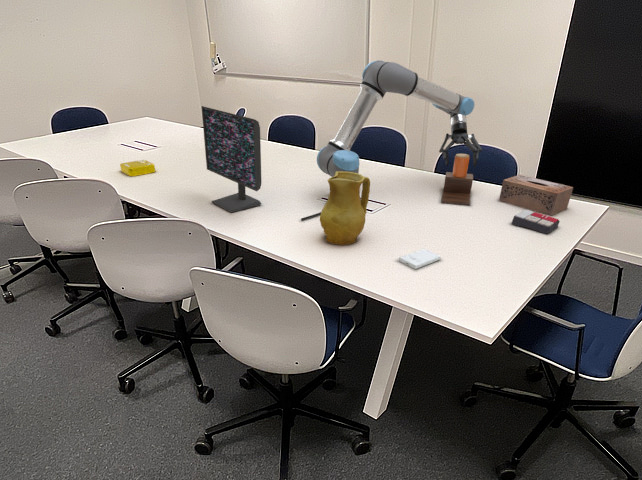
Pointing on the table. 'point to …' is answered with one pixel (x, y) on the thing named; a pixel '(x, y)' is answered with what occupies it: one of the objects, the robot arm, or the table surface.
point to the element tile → (137, 168)
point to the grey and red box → (535, 221)
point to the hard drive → (419, 258)
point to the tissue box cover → (535, 194)
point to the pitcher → (345, 208)
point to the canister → (461, 165)
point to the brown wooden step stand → (457, 189)
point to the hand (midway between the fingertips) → (461, 164)
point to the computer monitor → (233, 154)
